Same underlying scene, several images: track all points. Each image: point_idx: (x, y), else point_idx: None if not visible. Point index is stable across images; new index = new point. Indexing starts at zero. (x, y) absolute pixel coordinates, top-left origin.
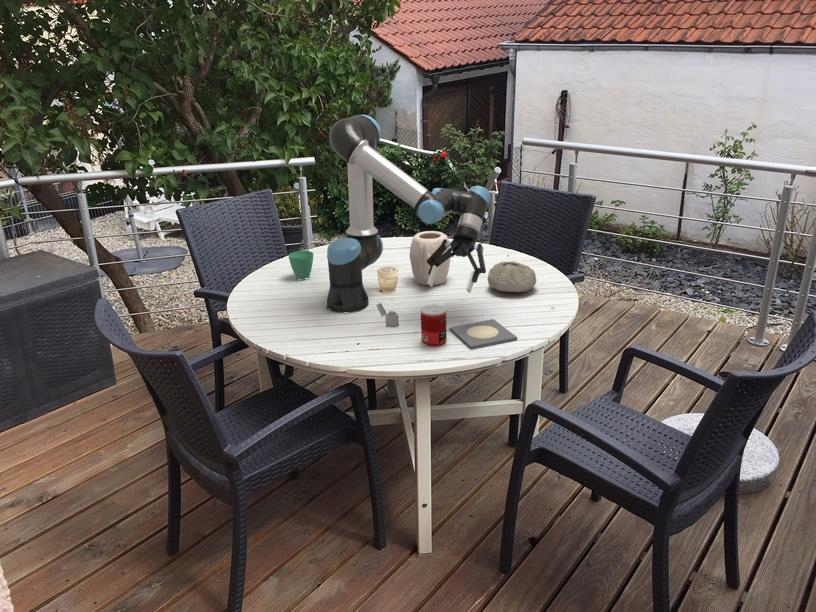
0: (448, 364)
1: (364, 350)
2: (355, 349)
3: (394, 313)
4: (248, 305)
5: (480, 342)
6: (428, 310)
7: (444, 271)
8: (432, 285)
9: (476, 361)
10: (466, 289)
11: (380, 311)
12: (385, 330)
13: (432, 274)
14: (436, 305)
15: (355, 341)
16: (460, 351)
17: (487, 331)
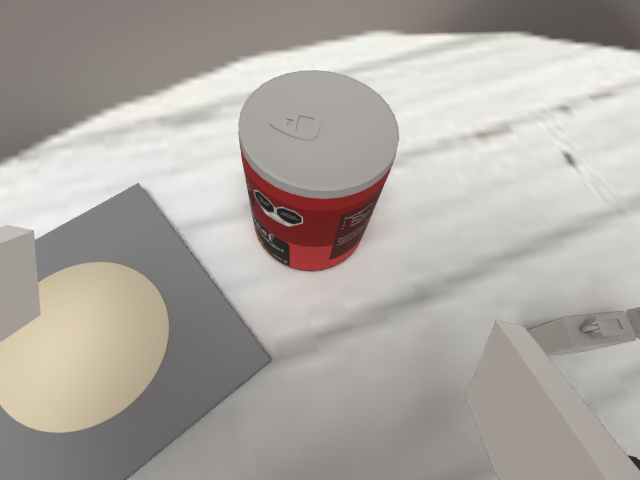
0: (213, 82)
1: (518, 121)
2: (549, 123)
3: (588, 323)
4: None
5: (95, 224)
6: (348, 125)
7: None
8: (471, 408)
9: (116, 112)
10: (31, 243)
11: None
12: (553, 289)
13: (557, 417)
14: (319, 183)
15: (591, 173)
16: (184, 169)
17: (54, 351)
